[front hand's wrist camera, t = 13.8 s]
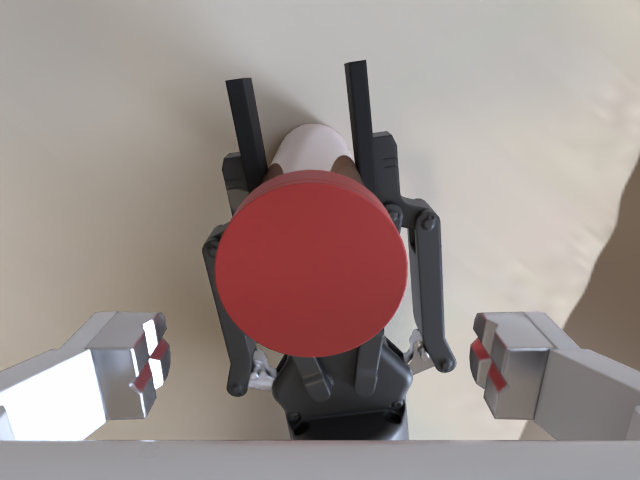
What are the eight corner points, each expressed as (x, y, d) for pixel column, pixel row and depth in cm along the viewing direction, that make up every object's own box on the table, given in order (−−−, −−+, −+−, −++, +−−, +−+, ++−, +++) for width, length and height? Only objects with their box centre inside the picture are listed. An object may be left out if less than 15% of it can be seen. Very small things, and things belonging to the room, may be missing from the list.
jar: (285, 115, 26) (244, 171, 11) (357, 133, 27) (415, 212, 11) (271, 186, 28) (216, 323, 12) (338, 201, 28) (367, 353, 13)
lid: (242, 149, 12) (230, 160, 10) (420, 192, 12) (435, 209, 11) (213, 309, 14) (201, 338, 12) (369, 340, 14) (376, 372, 13)
